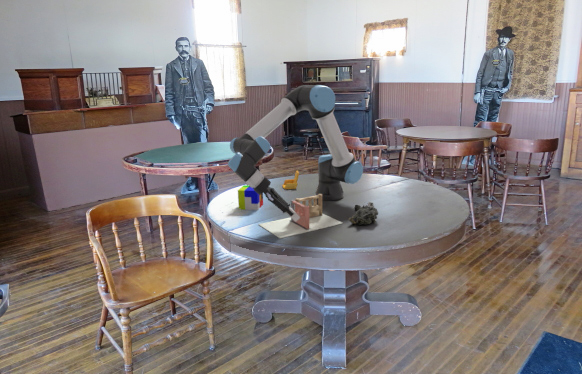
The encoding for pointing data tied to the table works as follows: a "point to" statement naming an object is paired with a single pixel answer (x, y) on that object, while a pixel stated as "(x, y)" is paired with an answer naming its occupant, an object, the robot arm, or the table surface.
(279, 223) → the card
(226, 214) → the table surface
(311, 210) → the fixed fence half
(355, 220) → the mineral specimen
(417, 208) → the table surface
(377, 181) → the table surface
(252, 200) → the puzzle toy
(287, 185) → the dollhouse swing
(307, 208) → the hinged fence half
